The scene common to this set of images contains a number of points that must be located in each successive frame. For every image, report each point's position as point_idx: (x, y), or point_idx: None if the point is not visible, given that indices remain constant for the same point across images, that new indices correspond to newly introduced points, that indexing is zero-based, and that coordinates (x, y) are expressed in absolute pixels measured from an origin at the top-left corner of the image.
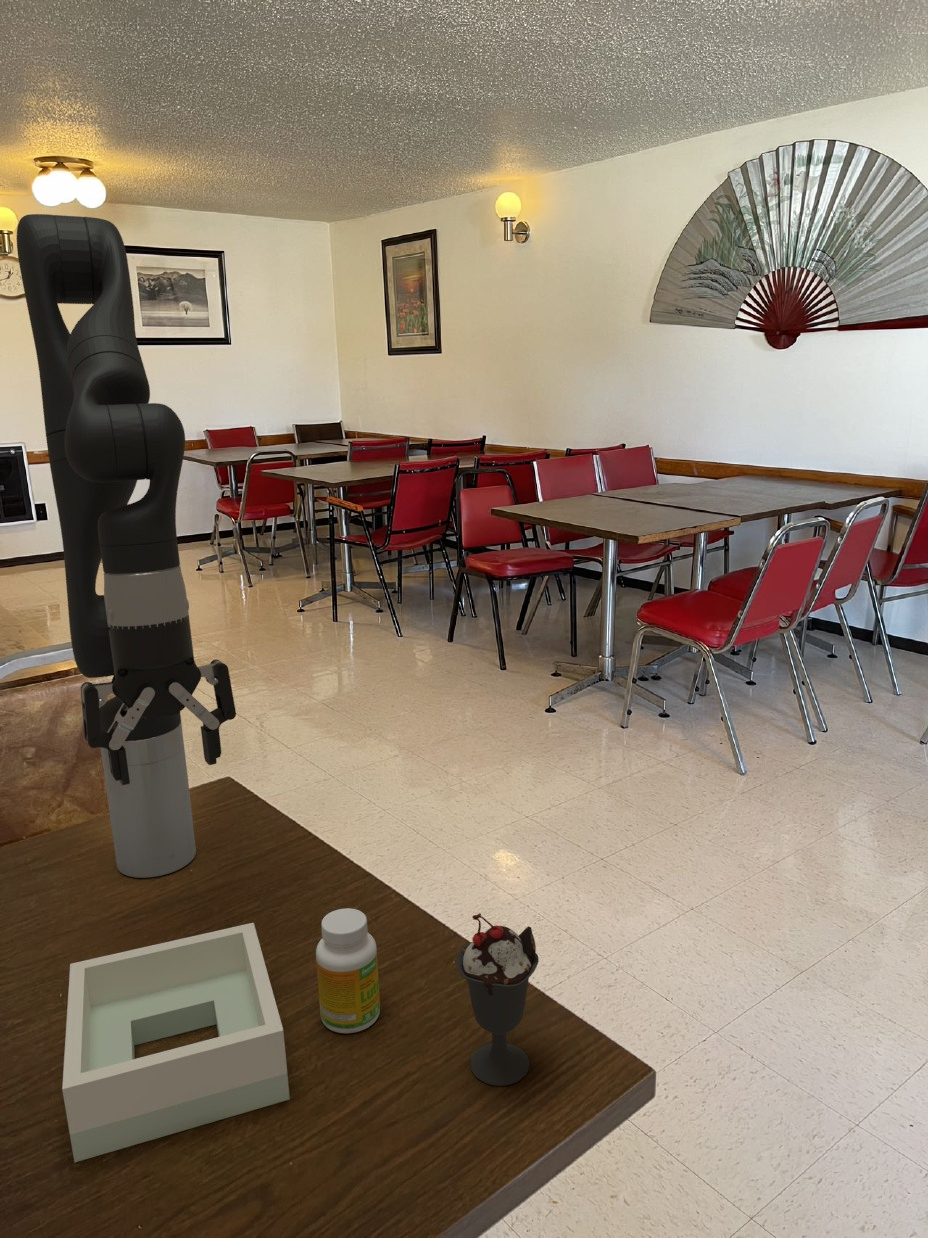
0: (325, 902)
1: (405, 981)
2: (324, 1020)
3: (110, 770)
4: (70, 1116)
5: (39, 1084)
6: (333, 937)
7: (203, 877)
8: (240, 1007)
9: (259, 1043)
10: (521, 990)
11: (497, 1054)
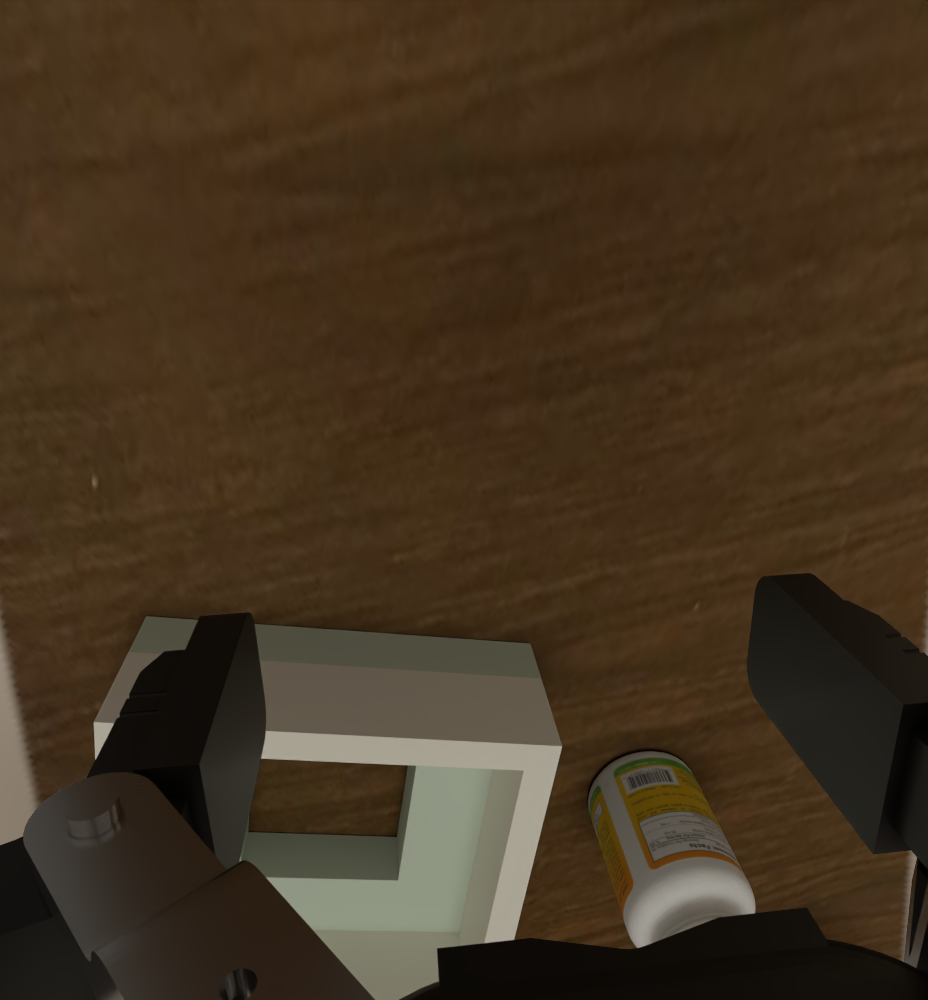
0: (801, 418)
1: (770, 753)
2: (590, 815)
3: (136, 686)
4: None
5: (75, 734)
6: None
7: (561, 48)
8: (459, 796)
9: None
10: None
11: None
